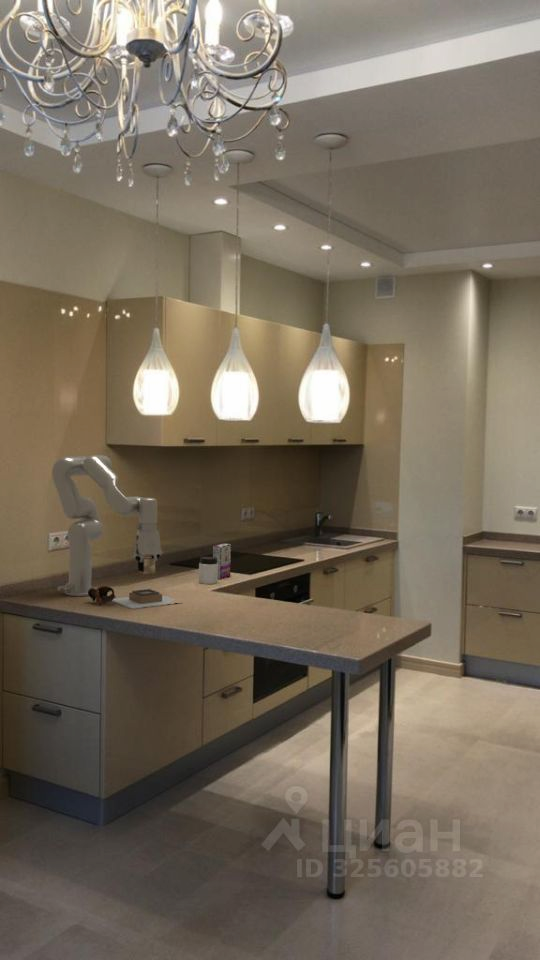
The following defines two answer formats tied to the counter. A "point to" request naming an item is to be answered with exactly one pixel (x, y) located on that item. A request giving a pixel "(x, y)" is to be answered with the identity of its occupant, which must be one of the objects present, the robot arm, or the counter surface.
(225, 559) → the candy bar box
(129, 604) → the base
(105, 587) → the brown animal figurine
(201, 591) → the counter surface
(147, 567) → the maple block
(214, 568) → the jar
